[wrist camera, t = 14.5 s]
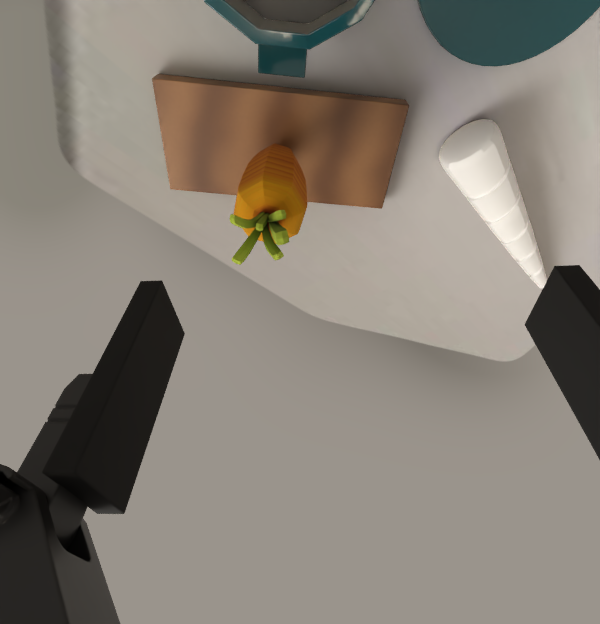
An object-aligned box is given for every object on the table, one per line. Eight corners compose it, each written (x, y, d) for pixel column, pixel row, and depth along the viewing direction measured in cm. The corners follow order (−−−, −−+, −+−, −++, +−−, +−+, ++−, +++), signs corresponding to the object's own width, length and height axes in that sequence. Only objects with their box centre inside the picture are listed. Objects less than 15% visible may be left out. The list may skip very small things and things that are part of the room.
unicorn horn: (512, 303, 46) (528, 332, 42) (429, 144, 33) (443, 166, 29) (554, 285, 43) (575, 314, 40) (484, 108, 31) (505, 127, 27)
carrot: (257, 181, 34) (230, 289, 23) (245, 123, 30) (208, 218, 20) (311, 176, 33) (310, 283, 23) (305, 116, 30) (301, 209, 19)
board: (406, 99, 30) (409, 105, 29) (379, 201, 37) (382, 208, 35) (157, 73, 29) (151, 78, 28) (174, 182, 36) (170, 189, 35)
